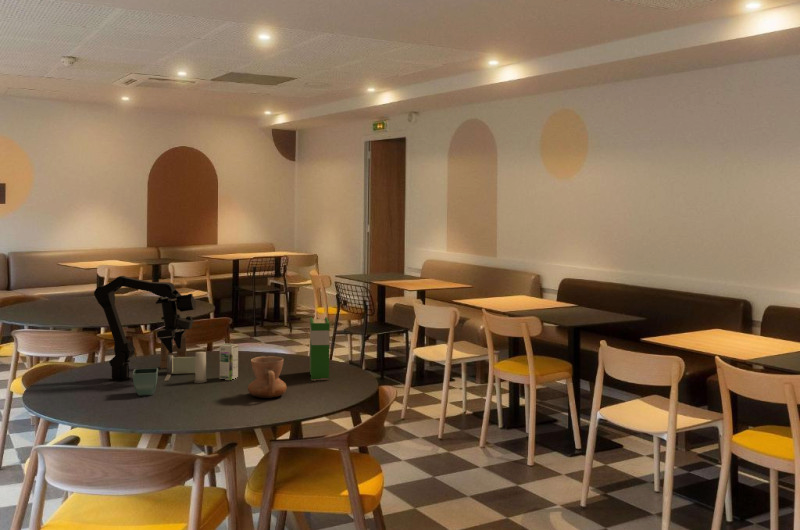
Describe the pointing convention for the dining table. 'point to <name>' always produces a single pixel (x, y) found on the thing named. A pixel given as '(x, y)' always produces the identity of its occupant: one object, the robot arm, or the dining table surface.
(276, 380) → the ceramic jug
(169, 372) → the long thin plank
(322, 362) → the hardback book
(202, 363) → the beige dome-topped cylinder
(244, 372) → the dining table surface
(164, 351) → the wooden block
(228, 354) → the syrup box
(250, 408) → the dining table surface
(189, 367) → the beige flat block
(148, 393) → the flower pot
